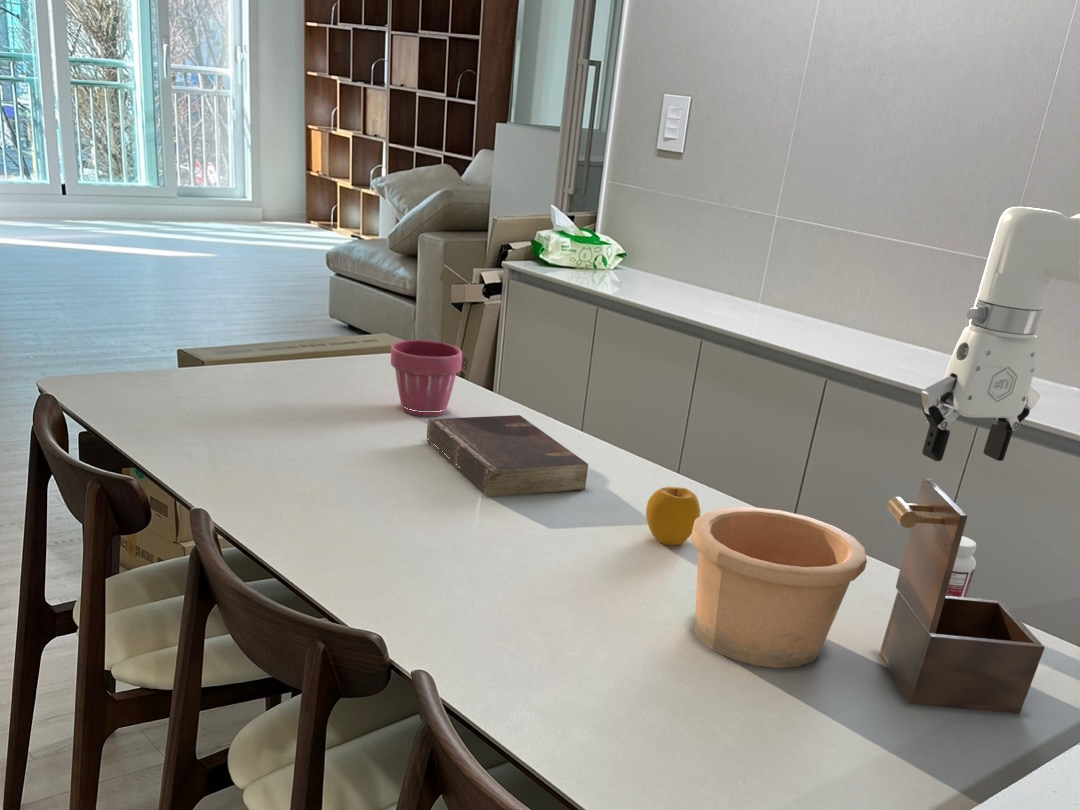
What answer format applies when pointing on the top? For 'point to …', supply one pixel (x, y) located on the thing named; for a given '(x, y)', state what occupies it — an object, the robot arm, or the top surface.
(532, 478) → the hardback book
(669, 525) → the apple
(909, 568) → the lid
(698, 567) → the pottery
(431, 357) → the flower pot
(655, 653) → the top surface
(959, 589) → the pill bottle
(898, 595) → the chest
